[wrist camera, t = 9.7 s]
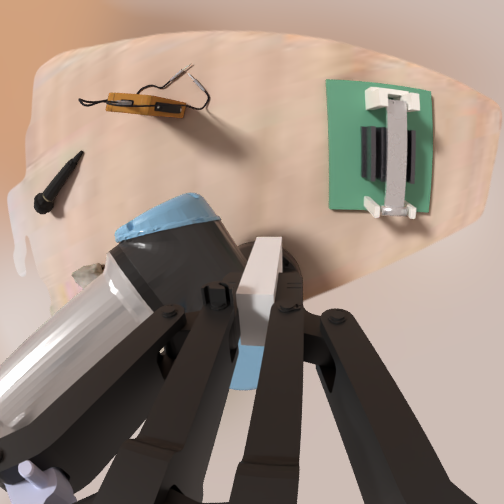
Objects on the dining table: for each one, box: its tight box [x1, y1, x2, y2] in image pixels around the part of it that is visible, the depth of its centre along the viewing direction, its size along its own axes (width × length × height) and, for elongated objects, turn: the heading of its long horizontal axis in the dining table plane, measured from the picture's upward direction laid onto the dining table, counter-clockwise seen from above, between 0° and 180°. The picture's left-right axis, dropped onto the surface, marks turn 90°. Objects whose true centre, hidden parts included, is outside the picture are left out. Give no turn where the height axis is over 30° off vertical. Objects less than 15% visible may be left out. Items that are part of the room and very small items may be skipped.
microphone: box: [34, 151, 83, 214], centre depth 50 cm, size 5×5×19 cm
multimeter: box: [78, 63, 209, 118], centre depth 32 cm, size 15×10×20 cm
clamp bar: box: [380, 99, 408, 217], centre depth 35 cm, size 17×4×2 cm, turn 3°
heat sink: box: [360, 126, 416, 184], centre depth 38 cm, size 8×8×5 cm
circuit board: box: [326, 79, 433, 219], centre depth 36 cm, size 21×18×9 cm
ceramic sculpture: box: [72, 263, 103, 289], centre depth 56 cm, size 11×9×15 cm
